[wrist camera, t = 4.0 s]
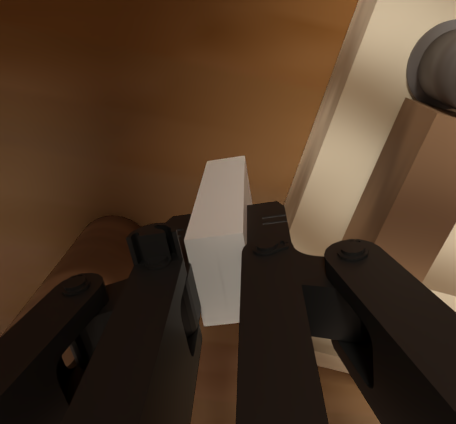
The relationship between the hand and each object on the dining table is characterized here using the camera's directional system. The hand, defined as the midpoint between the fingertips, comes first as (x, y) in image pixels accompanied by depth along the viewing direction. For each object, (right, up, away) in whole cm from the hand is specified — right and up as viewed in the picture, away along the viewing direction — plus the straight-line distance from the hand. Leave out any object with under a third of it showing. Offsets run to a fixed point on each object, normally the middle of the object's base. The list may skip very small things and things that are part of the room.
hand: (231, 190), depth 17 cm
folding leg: (+7, +2, 0) cm, 7 cm away
